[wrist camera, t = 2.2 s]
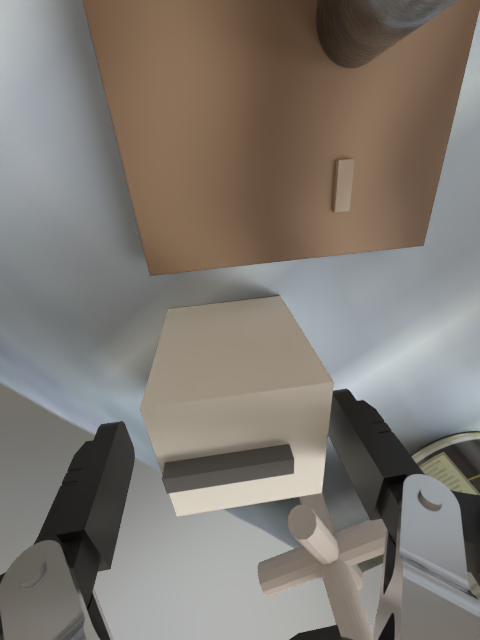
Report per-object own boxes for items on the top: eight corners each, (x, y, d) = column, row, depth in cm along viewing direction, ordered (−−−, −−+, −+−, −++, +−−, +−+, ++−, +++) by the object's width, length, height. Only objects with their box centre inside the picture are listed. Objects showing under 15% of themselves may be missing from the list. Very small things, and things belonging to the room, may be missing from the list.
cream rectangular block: (280, 295, 15) (342, 395, 8) (281, 381, 18) (327, 508, 11) (167, 308, 14) (135, 424, 8) (187, 394, 17) (175, 533, 11)
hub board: (483, -232, 8) (575, -367, 6) (396, 236, 14) (426, 246, 12) (45, -232, 7) (-15, -386, 5) (157, 262, 13) (149, 277, 11)
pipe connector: (223, 473, 21) (236, 683, 13) (342, 420, 20) (450, 613, 11) (277, 526, 26) (313, 706, 17) (376, 485, 24) (472, 659, 16)
